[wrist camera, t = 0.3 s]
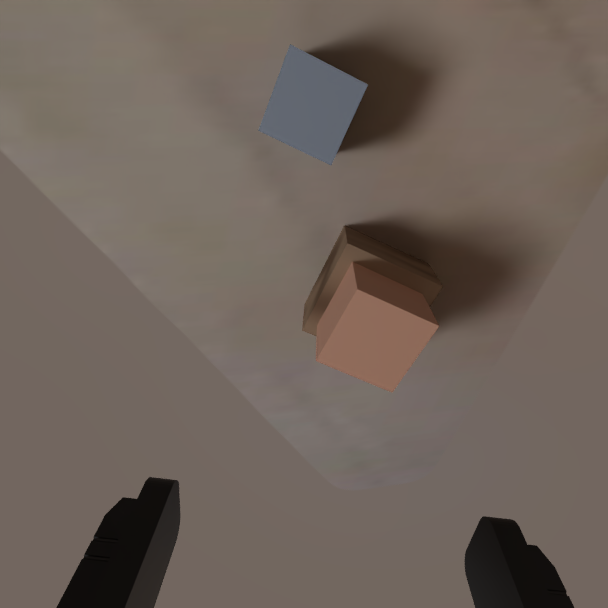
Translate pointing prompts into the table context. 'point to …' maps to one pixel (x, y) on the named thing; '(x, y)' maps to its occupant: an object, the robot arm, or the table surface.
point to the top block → (374, 328)
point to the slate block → (311, 105)
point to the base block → (371, 257)
